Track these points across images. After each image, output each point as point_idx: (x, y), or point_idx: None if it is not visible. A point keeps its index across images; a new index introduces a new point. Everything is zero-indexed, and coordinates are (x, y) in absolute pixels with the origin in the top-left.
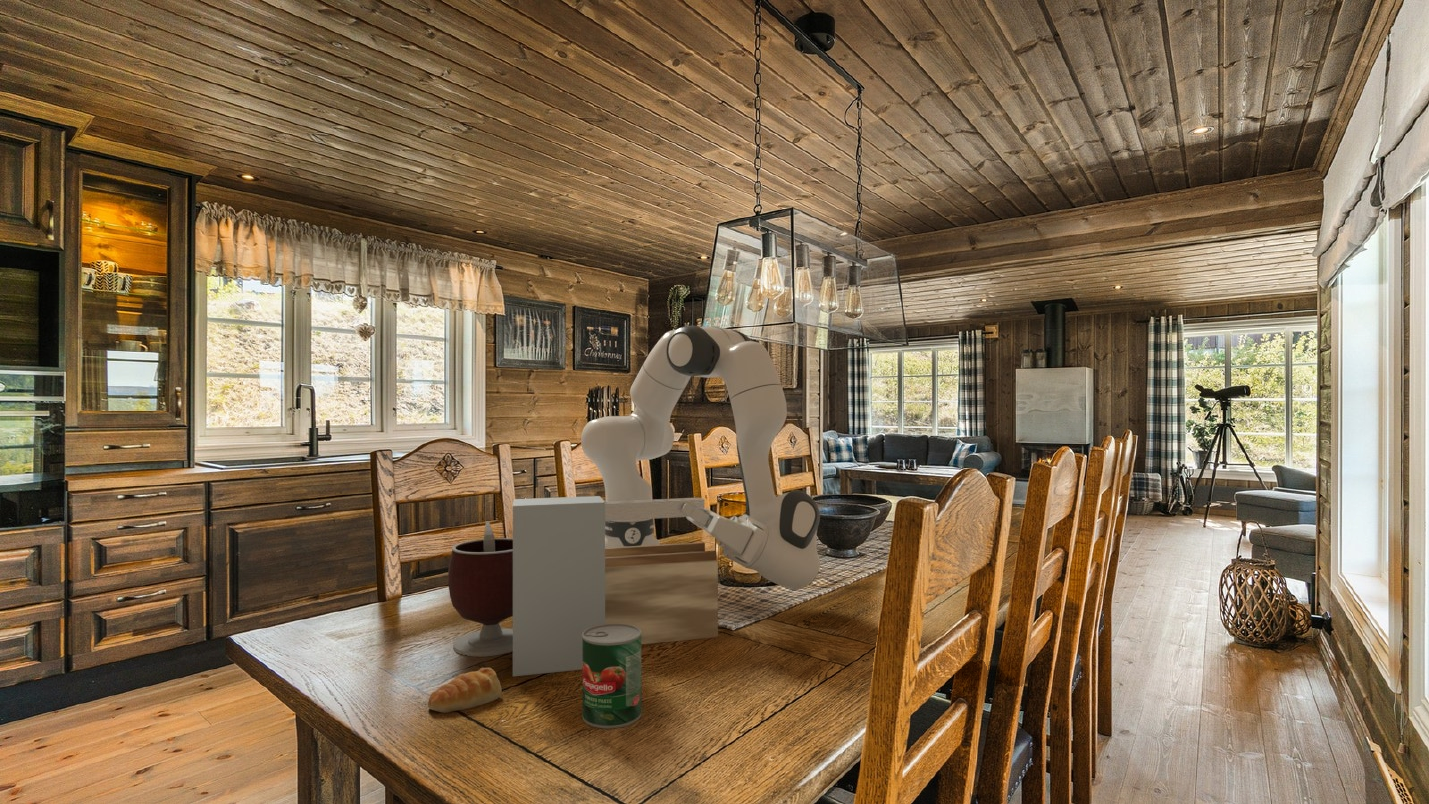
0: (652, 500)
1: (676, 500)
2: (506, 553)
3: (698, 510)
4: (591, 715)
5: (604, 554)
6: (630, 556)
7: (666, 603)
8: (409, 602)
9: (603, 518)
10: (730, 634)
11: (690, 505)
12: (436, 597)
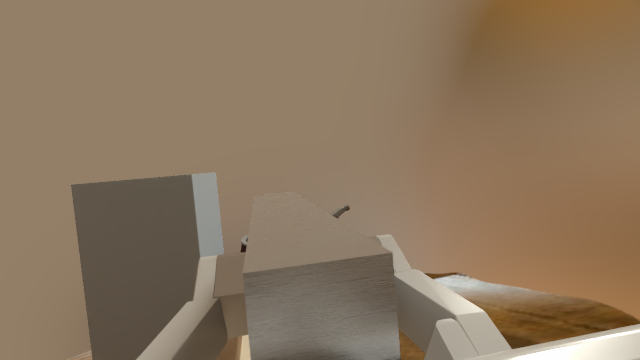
0: (292, 207)
1: (261, 225)
2: (245, 247)
3: (161, 334)
4: None
5: (86, 299)
6: (226, 355)
7: None
8: (441, 281)
9: (77, 220)
10: None
11: (198, 274)
12: (467, 288)
